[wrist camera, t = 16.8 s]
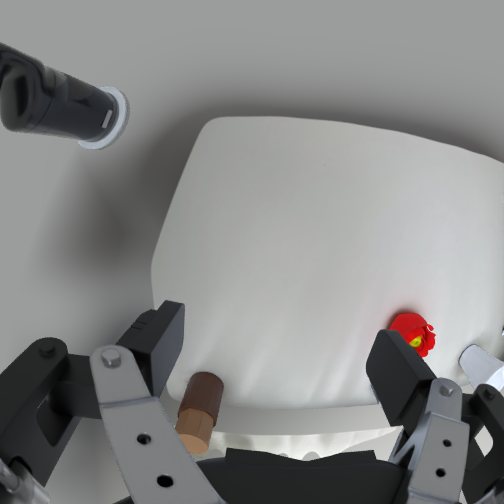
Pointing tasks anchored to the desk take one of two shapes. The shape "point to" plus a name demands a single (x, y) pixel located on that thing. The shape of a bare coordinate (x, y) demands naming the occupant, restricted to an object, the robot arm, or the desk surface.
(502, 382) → the cup
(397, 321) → the flower
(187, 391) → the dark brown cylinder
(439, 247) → the desk surface
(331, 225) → the desk surface
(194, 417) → the brown octagonal prism
